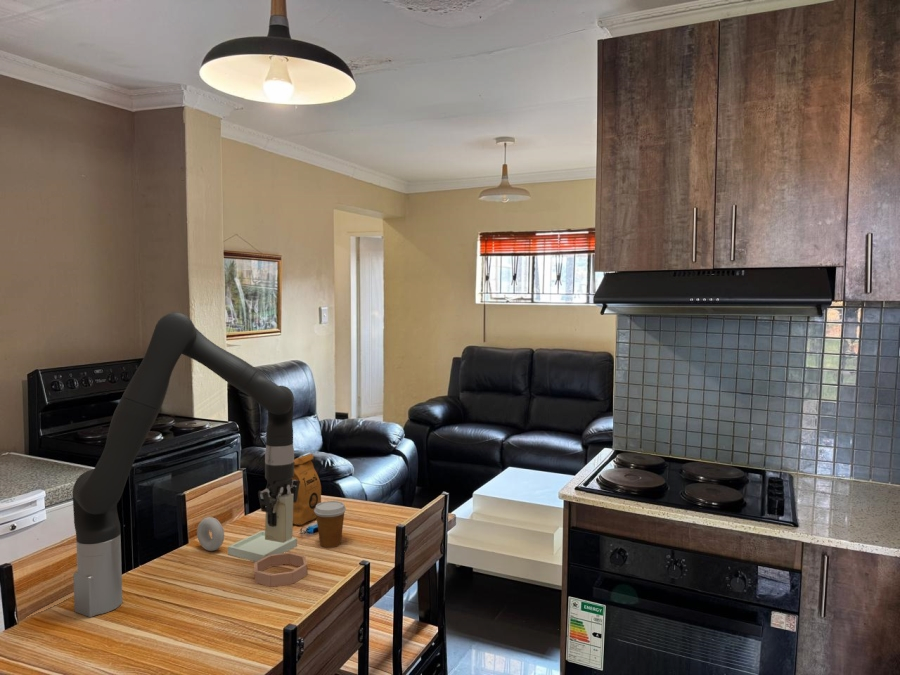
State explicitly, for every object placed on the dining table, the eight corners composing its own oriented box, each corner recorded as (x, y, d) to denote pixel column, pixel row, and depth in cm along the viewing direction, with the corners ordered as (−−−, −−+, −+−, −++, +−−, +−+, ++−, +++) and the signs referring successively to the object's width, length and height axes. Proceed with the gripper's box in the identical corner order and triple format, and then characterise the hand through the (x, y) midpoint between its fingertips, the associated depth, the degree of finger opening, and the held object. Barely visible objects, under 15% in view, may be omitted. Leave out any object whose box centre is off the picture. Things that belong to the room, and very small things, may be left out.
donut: (227, 551, 178) (226, 518, 178) (217, 555, 175) (216, 522, 175) (204, 545, 183) (203, 512, 183) (194, 549, 180) (193, 516, 180)
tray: (263, 563, 170) (263, 555, 170) (227, 554, 176) (227, 546, 176) (297, 545, 182) (297, 538, 182) (262, 537, 189) (262, 530, 189)
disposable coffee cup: (342, 550, 179) (342, 510, 179) (311, 549, 180) (310, 510, 179) (348, 537, 189) (348, 500, 188) (318, 537, 189) (318, 500, 188)
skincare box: (264, 540, 161) (264, 495, 161) (274, 534, 165) (274, 491, 165) (284, 543, 159) (284, 498, 159) (294, 537, 163) (294, 493, 163)
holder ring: (282, 590, 154) (282, 578, 154) (243, 579, 160) (243, 568, 160) (316, 569, 166) (316, 558, 166) (279, 560, 172) (279, 549, 172)
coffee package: (326, 517, 207) (325, 454, 206) (301, 528, 197) (300, 462, 195) (304, 512, 212) (303, 451, 211) (278, 523, 201) (277, 458, 200)
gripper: (271, 468, 153) (270, 534, 154) (308, 456, 166) (307, 517, 167) (249, 464, 157) (249, 528, 157) (287, 453, 169) (287, 513, 170)
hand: (279, 522), depth 162 cm, fingers closed on skincare box, 4 cm apart
